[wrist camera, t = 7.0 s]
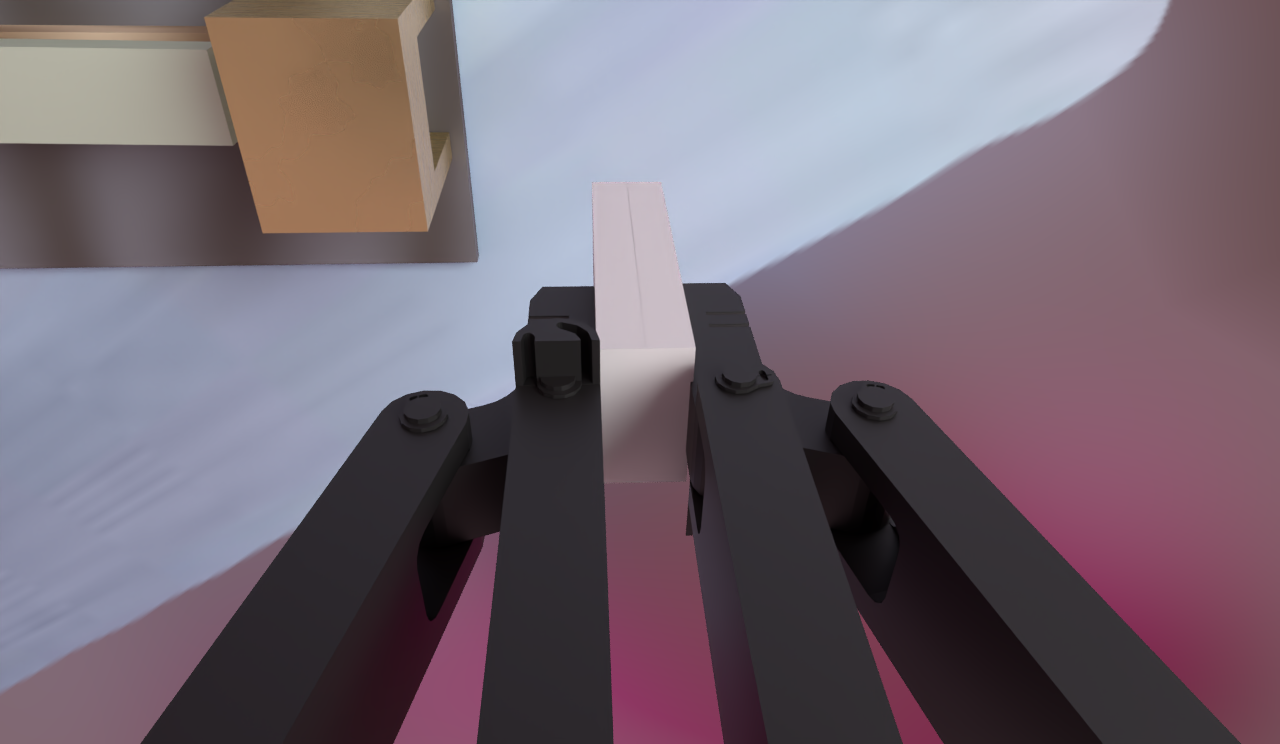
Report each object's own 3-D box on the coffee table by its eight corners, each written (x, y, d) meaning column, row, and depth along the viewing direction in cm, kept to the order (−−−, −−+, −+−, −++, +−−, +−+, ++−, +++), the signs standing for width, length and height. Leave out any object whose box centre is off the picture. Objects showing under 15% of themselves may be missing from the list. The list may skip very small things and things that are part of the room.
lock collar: (315, 159, 30) (262, 233, 25) (275, -25, 26) (204, 17, 21) (452, 158, 30) (427, 231, 25) (431, -24, 27) (397, 18, 22)
